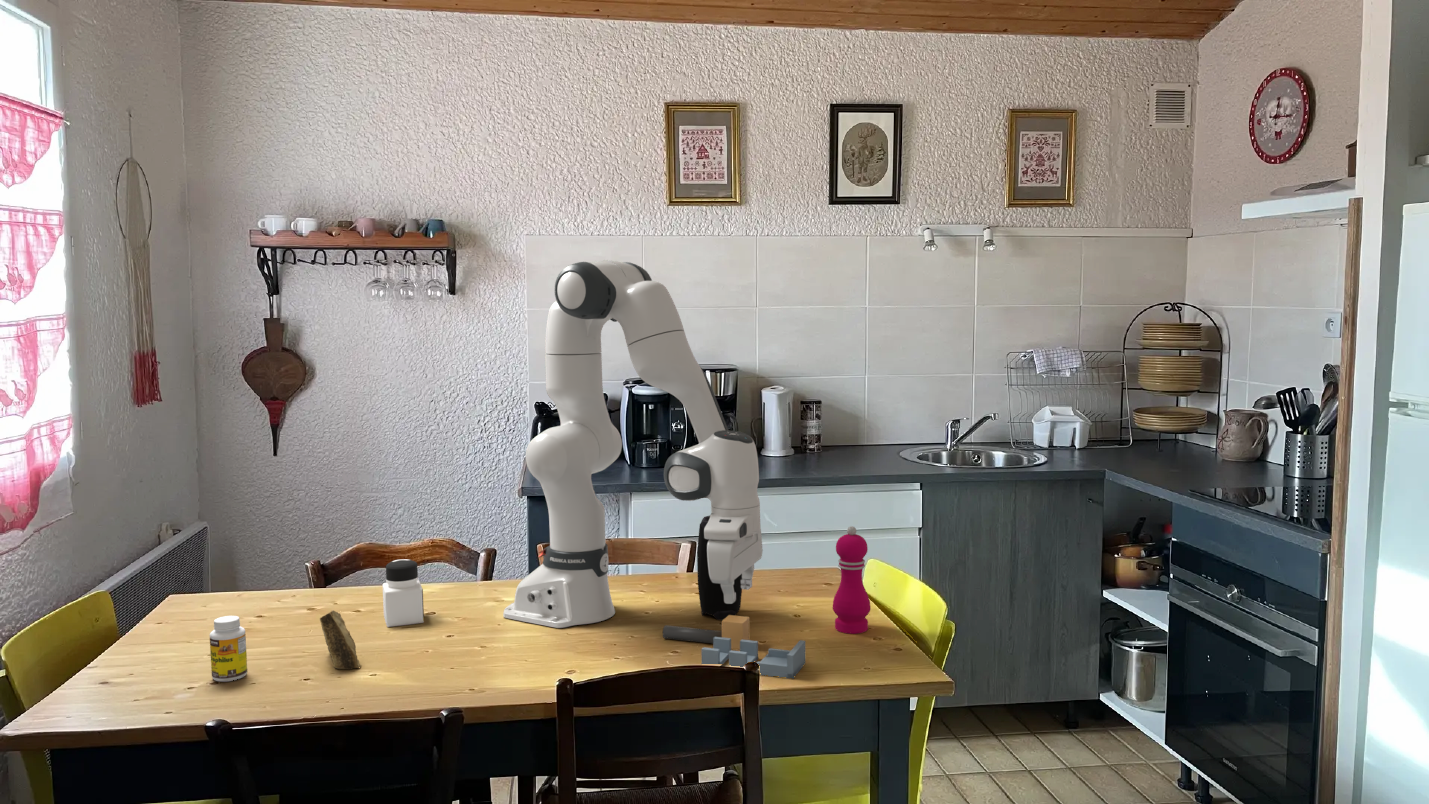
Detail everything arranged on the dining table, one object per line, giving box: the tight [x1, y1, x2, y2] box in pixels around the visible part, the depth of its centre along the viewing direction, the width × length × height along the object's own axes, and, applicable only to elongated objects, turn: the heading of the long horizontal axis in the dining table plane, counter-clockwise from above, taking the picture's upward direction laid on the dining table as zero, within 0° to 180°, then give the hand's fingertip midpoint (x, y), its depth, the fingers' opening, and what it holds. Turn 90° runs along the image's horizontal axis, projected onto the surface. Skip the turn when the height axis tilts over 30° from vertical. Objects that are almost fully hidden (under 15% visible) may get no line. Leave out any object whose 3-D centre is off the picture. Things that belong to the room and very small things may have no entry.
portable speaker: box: [696, 515, 743, 621], centre depth 211 cm, size 9×9×20 cm
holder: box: [755, 639, 806, 680], centre depth 181 cm, size 7×8×4 cm
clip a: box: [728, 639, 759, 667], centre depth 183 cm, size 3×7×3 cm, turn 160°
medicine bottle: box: [382, 558, 425, 628], centre depth 210 cm, size 7×7×12 cm
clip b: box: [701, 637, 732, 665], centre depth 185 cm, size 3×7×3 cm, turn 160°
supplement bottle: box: [209, 615, 248, 682], centre depth 180 cm, size 6×6×10 cm
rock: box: [319, 610, 362, 670], centre depth 188 cm, size 11×9×10 cm
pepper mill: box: [832, 525, 872, 635], centre depth 201 cm, size 7×7×20 cm
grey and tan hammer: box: [662, 615, 751, 651], centre depth 195 cm, size 16×4×5 cm, turn 70°
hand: (738, 595), depth 192 cm, fingers open, 8 cm apart
